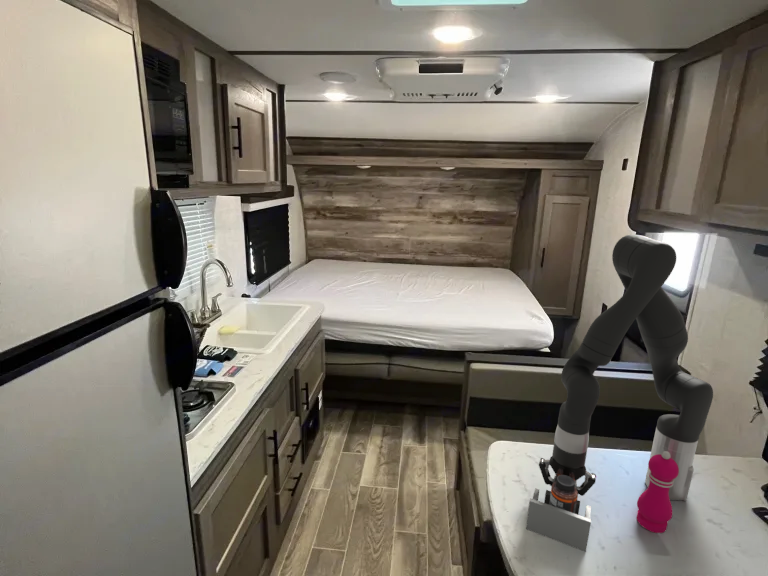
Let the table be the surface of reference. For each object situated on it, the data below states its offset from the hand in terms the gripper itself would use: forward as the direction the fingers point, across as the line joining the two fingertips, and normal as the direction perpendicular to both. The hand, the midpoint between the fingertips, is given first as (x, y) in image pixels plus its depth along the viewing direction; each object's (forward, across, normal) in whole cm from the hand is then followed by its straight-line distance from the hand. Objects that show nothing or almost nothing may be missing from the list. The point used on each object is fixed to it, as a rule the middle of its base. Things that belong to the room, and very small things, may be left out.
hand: (562, 501), depth 110 cm
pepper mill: (+1, -20, -4) cm, 20 cm away
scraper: (+1, 0, -2) cm, 2 cm away
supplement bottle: (+1, 0, +6) cm, 6 cm away
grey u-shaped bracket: (+1, 0, +8) cm, 8 cm away
